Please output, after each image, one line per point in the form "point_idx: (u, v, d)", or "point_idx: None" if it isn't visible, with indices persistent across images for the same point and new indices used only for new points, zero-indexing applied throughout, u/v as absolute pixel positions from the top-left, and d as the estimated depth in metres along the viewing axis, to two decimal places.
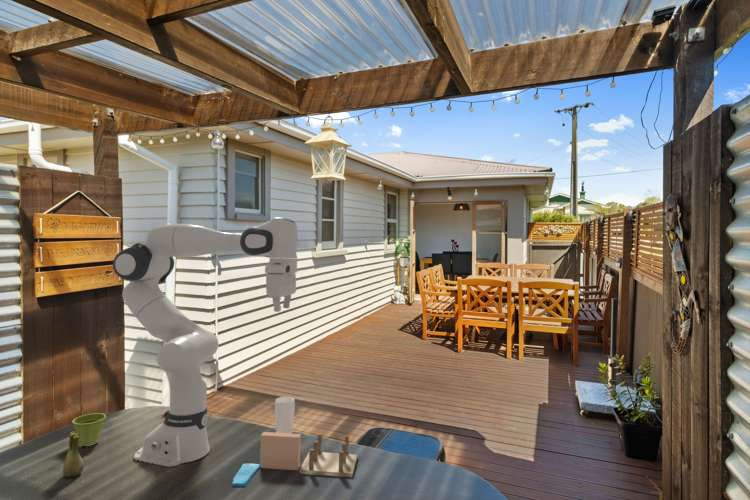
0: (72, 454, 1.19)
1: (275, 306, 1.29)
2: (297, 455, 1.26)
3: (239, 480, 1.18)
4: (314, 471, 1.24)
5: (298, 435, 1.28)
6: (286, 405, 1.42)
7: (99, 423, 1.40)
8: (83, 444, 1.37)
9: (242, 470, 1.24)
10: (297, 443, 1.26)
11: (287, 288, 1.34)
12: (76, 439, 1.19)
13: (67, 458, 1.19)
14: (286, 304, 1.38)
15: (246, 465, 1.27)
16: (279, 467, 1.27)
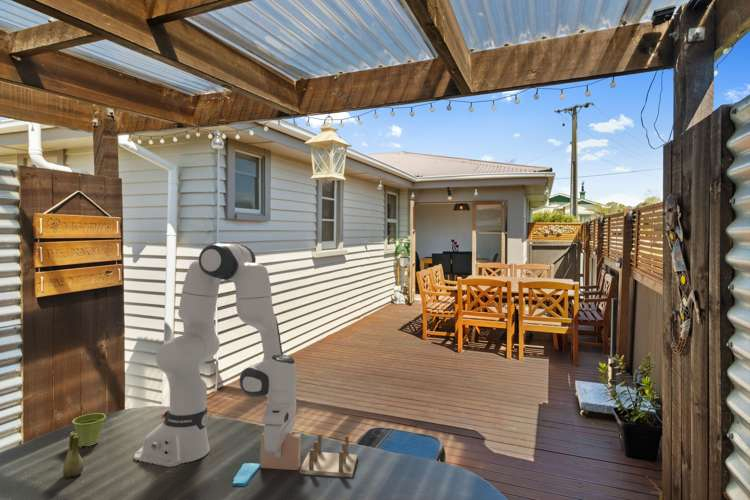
0: (72, 454, 1.19)
1: (276, 452, 1.25)
2: (297, 455, 1.26)
3: (240, 480, 1.19)
4: (314, 471, 1.24)
5: (298, 435, 1.28)
6: None
7: (99, 423, 1.40)
8: (83, 444, 1.37)
9: (243, 469, 1.25)
10: (297, 443, 1.26)
11: (286, 431, 1.28)
12: (76, 439, 1.19)
13: (67, 458, 1.19)
14: None
15: (246, 465, 1.27)
16: (279, 467, 1.27)
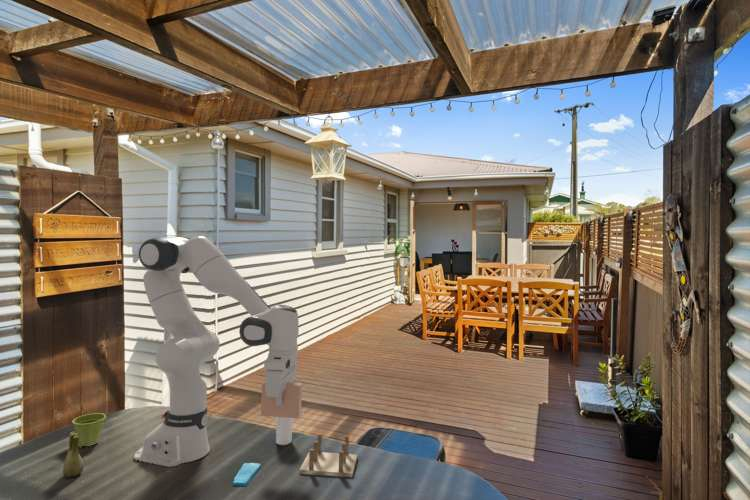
0: (72, 454, 1.19)
1: (277, 399, 1.26)
2: (298, 403, 1.27)
3: (240, 479, 1.19)
4: (314, 471, 1.24)
5: (299, 384, 1.28)
6: None
7: (99, 423, 1.40)
8: (83, 444, 1.37)
9: (243, 469, 1.25)
10: (298, 391, 1.27)
11: (287, 380, 1.28)
12: (76, 439, 1.19)
13: (67, 458, 1.19)
14: None
15: (247, 464, 1.28)
16: (280, 415, 1.27)
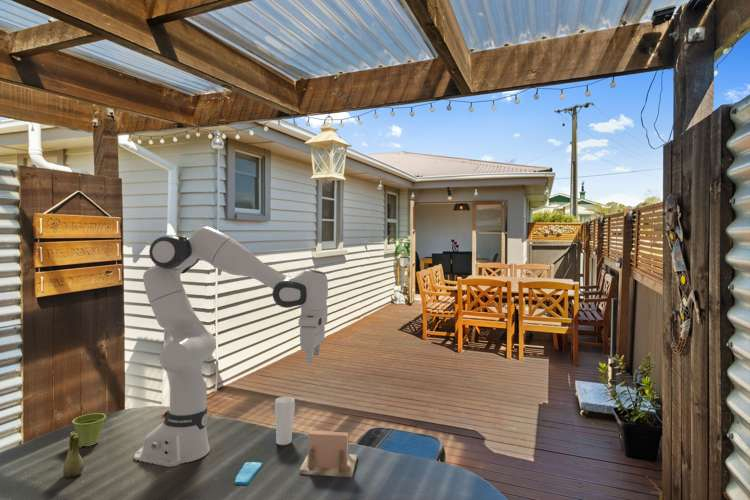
0: (72, 454, 1.19)
1: (308, 357, 1.33)
2: (345, 454, 1.25)
3: (242, 479, 1.19)
4: (314, 471, 1.24)
5: (346, 434, 1.27)
6: (286, 405, 1.42)
7: (99, 423, 1.40)
8: (83, 444, 1.37)
9: (245, 468, 1.25)
10: (345, 442, 1.25)
11: (318, 338, 1.38)
12: (76, 439, 1.19)
13: (67, 458, 1.19)
14: (316, 352, 1.43)
15: (248, 464, 1.28)
16: (327, 466, 1.25)
